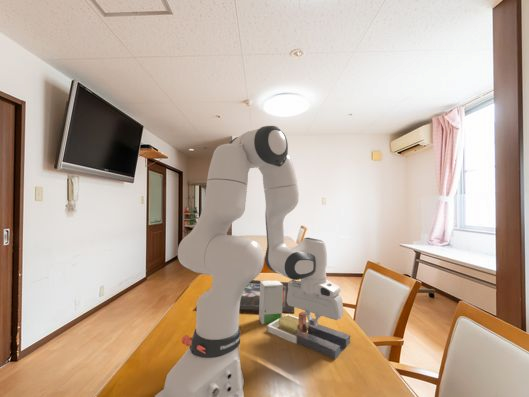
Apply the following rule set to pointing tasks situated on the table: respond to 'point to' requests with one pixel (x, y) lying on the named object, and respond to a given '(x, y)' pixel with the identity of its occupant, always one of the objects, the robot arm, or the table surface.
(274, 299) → the skincare box
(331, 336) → the slot bed
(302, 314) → the copper metal bar
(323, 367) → the table surface
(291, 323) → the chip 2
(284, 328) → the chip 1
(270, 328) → the tray
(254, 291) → the religious icon
